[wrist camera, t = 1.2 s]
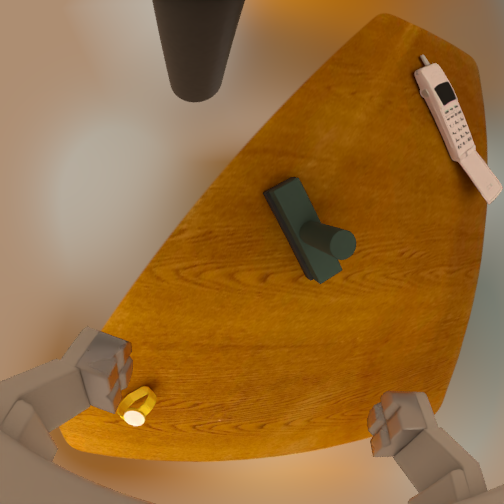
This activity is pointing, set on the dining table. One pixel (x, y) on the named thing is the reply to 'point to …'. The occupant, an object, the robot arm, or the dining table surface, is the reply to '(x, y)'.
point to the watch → (134, 414)
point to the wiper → (309, 231)
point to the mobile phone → (455, 128)
